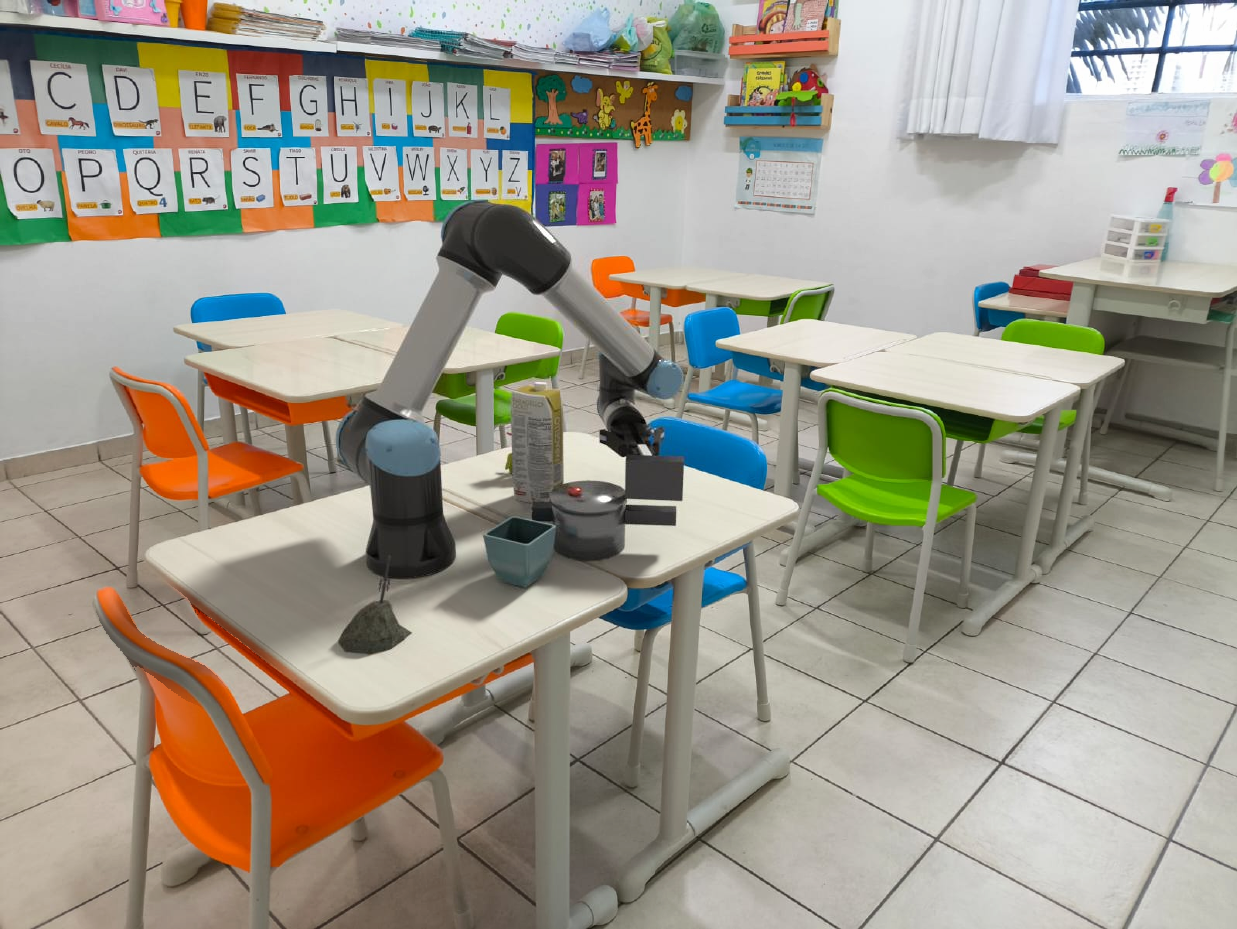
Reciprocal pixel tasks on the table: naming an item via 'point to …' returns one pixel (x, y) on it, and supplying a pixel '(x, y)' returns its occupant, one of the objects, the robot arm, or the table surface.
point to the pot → (598, 528)
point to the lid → (642, 482)
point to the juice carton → (536, 442)
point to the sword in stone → (374, 627)
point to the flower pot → (520, 549)
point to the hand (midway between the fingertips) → (648, 463)
